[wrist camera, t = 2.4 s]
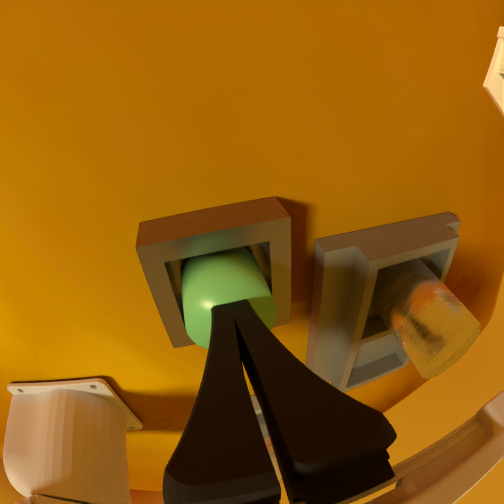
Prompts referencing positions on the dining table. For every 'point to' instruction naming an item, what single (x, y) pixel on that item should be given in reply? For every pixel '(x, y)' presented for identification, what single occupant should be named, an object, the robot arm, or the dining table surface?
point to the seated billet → (424, 316)
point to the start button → (222, 289)
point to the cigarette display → (497, 74)
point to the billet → (269, 445)
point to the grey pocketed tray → (367, 296)
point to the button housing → (212, 240)
